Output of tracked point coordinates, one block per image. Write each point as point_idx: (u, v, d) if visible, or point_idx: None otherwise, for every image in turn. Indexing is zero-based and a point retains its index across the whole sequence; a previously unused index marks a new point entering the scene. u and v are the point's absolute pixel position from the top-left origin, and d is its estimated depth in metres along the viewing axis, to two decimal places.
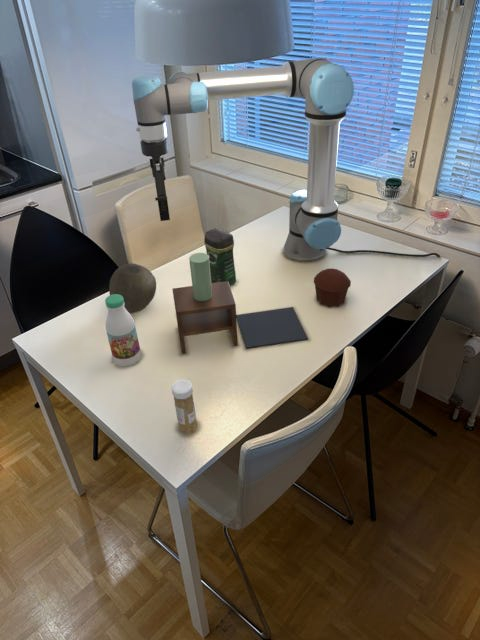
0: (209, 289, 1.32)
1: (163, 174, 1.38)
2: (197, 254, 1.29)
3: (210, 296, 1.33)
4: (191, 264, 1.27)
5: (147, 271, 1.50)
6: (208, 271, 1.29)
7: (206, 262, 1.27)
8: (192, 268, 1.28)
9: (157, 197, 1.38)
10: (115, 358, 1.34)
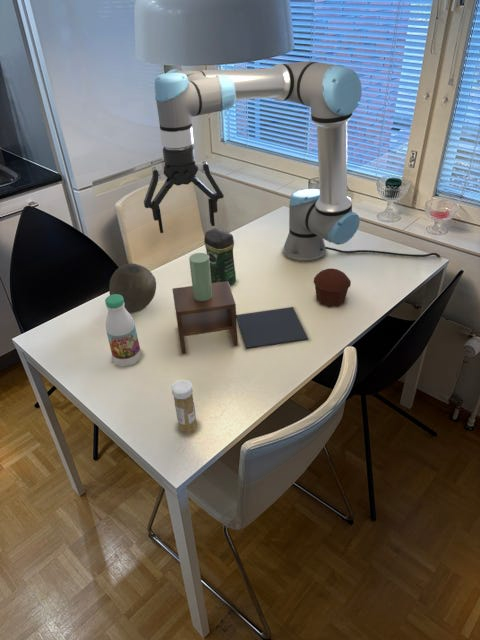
0: (209, 289, 1.32)
1: (166, 185, 1.21)
2: (197, 254, 1.29)
3: (210, 296, 1.33)
4: (191, 264, 1.27)
5: (147, 271, 1.50)
6: (208, 271, 1.29)
7: (206, 262, 1.27)
8: (192, 268, 1.28)
9: None
10: (115, 358, 1.34)
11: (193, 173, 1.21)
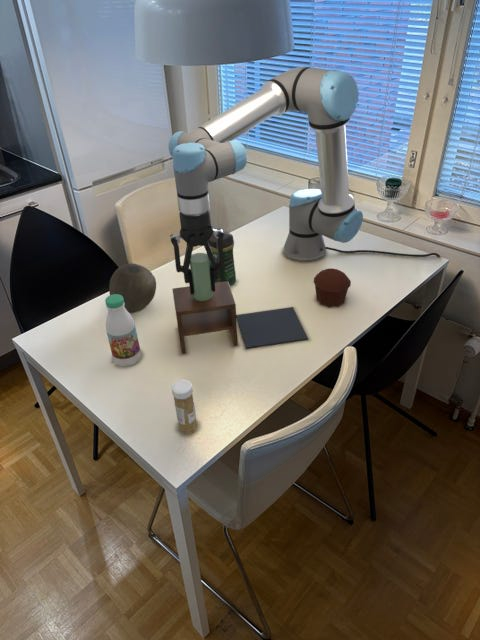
0: (209, 288, 1.32)
1: (187, 249, 1.25)
2: (197, 254, 1.29)
3: (210, 296, 1.33)
4: (191, 264, 1.27)
5: (147, 271, 1.50)
6: (208, 271, 1.29)
7: (206, 262, 1.27)
8: (192, 268, 1.28)
9: (184, 266, 1.30)
10: (115, 358, 1.34)
11: (209, 235, 1.24)
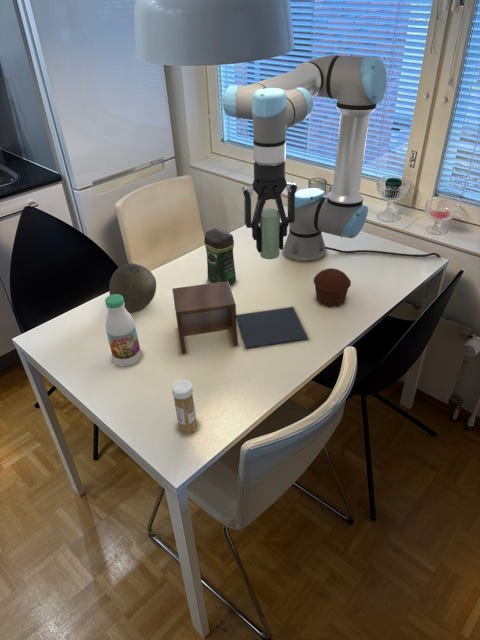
0: (278, 246, 1.28)
1: (259, 203, 1.21)
2: (267, 209, 1.25)
3: (278, 254, 1.30)
4: (262, 219, 1.23)
5: (147, 271, 1.50)
6: (278, 227, 1.25)
7: (277, 217, 1.23)
8: (262, 223, 1.24)
9: None
10: (115, 358, 1.34)
11: (282, 188, 1.20)
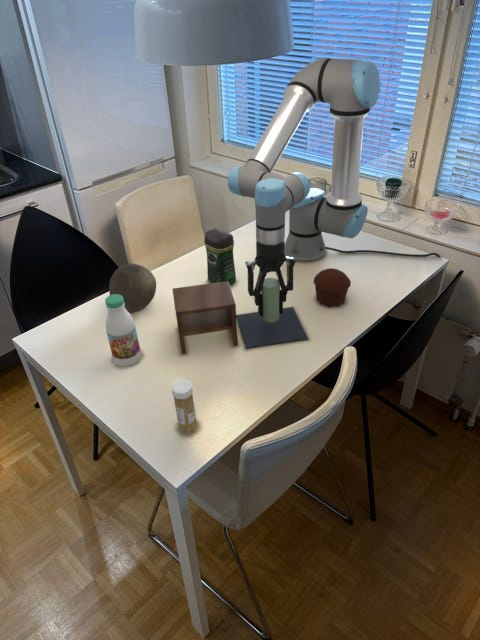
0: (278, 311, 1.40)
1: (261, 275, 1.33)
2: (268, 279, 1.38)
3: (278, 318, 1.42)
4: (263, 289, 1.36)
5: (147, 271, 1.50)
6: (278, 295, 1.37)
7: (277, 287, 1.35)
8: (264, 292, 1.36)
9: None
10: (115, 358, 1.34)
11: (281, 262, 1.32)
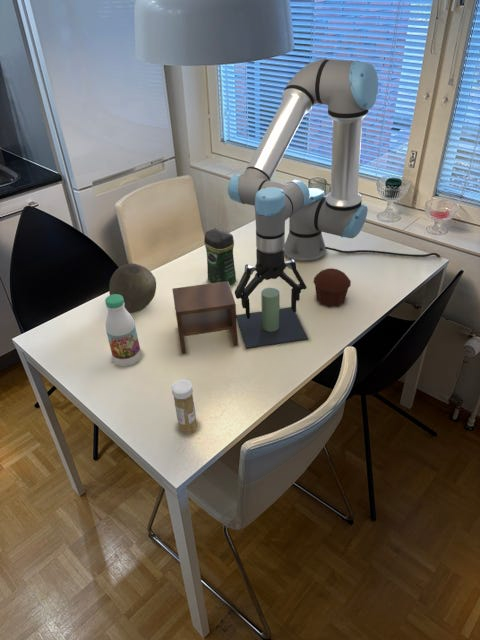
0: (278, 320, 1.42)
1: (257, 280, 1.34)
2: (268, 289, 1.40)
3: (278, 327, 1.44)
4: (263, 298, 1.38)
5: (147, 271, 1.50)
6: (278, 305, 1.39)
7: (277, 297, 1.37)
8: (264, 302, 1.38)
9: (242, 292, 1.38)
10: (115, 358, 1.34)
11: (281, 270, 1.34)
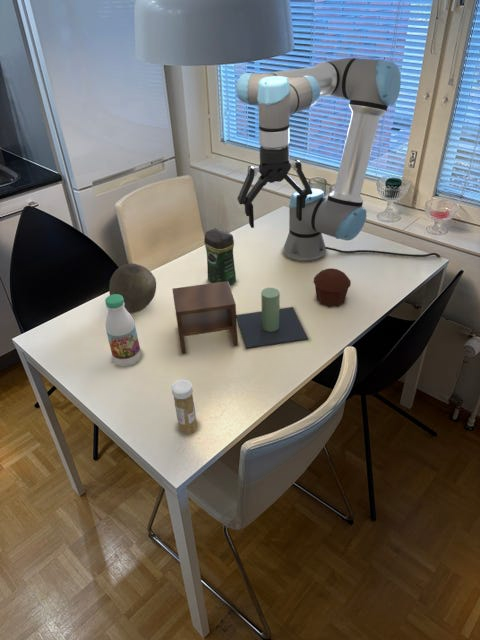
0: (278, 320, 1.42)
1: (260, 182, 1.28)
2: (268, 289, 1.40)
3: (278, 327, 1.44)
4: (263, 298, 1.38)
5: (147, 271, 1.50)
6: (278, 305, 1.39)
7: (277, 297, 1.37)
8: (264, 302, 1.38)
9: None
10: (115, 358, 1.34)
11: (286, 171, 1.28)
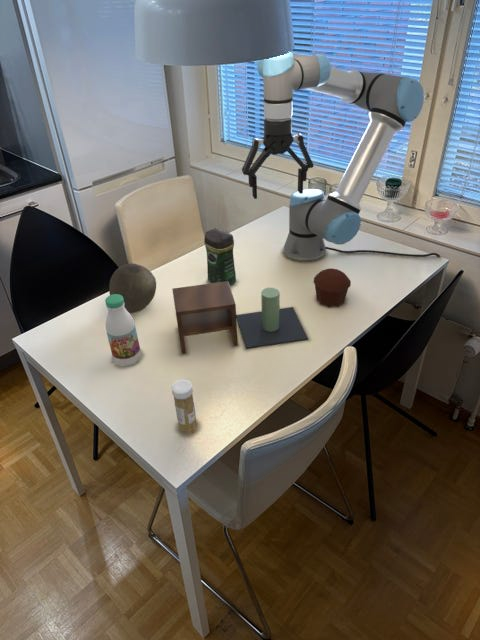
0: (278, 320, 1.42)
1: (264, 154, 1.34)
2: (268, 289, 1.40)
3: (278, 327, 1.44)
4: (263, 298, 1.38)
5: (147, 271, 1.50)
6: (278, 305, 1.39)
7: (277, 297, 1.37)
8: (264, 302, 1.38)
9: None
10: (115, 358, 1.34)
11: (289, 143, 1.34)
